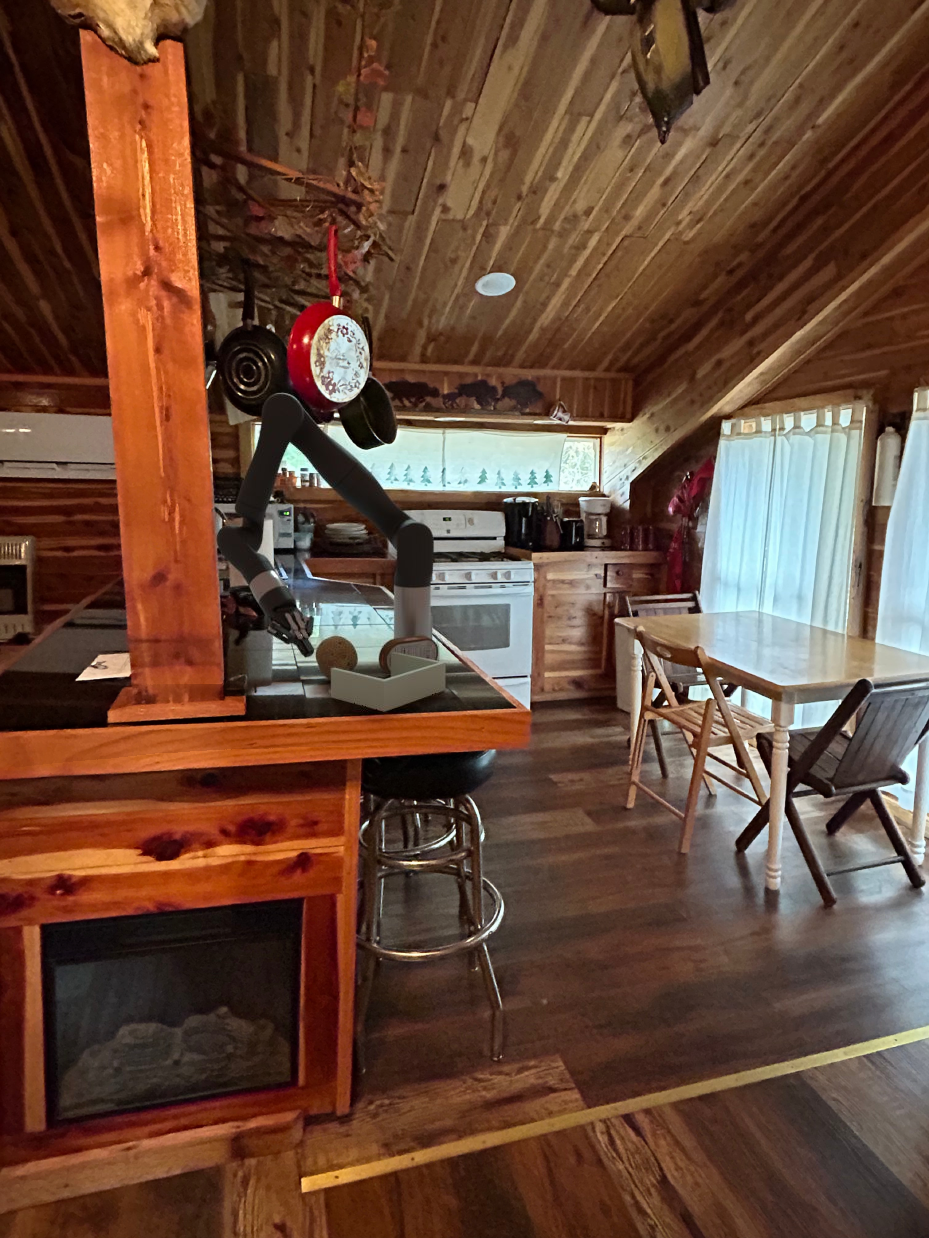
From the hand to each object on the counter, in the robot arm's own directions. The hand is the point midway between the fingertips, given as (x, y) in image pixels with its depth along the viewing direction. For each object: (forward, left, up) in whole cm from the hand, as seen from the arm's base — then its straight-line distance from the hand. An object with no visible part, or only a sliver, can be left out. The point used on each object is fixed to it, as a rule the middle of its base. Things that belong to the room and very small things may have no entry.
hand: (310, 654), depth 169 cm
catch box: (0, +24, -4) cm, 24 cm away
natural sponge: (0, +9, -5) cm, 10 cm away
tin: (-15, +16, -5) cm, 23 cm away
